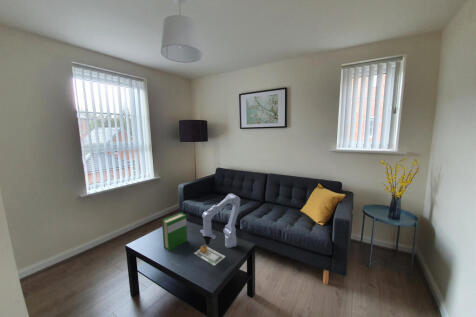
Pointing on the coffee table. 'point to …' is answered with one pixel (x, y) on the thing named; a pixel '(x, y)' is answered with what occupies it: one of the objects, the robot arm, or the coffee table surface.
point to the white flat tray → (210, 256)
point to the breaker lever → (203, 248)
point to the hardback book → (174, 231)
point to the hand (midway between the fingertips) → (207, 244)
